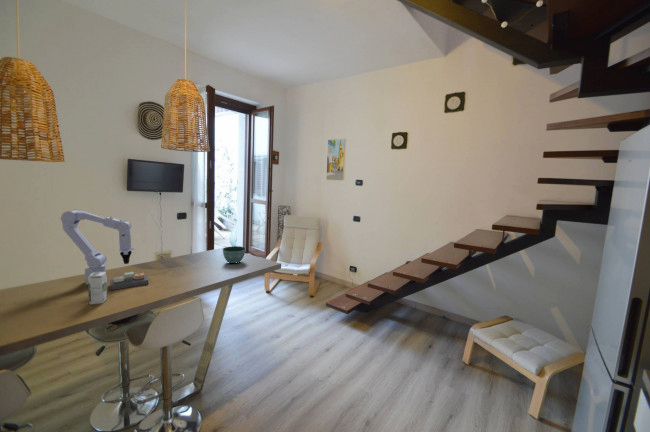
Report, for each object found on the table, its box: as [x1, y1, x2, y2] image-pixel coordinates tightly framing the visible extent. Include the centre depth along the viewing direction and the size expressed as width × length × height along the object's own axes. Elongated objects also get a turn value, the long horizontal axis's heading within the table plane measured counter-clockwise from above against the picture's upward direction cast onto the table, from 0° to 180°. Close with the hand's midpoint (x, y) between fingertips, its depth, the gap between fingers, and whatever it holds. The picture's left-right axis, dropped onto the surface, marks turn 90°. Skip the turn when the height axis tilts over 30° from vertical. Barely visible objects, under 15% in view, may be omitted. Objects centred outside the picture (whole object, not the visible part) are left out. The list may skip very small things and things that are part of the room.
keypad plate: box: [109, 274, 149, 291], centre depth 164 cm, size 18×10×2 cm, turn 125°
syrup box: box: [87, 271, 108, 305], centre depth 140 cm, size 6×6×14 cm
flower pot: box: [222, 245, 246, 263], centre depth 211 cm, size 16×16×11 cm
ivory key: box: [113, 275, 124, 283], centre depth 161 cm, size 4×4×5 cm
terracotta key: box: [134, 272, 145, 280], centre depth 167 cm, size 4×4×5 cm
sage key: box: [123, 271, 135, 282], centre depth 164 cm, size 4×4×5 cm
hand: (126, 263), depth 170 cm, fingers closed
